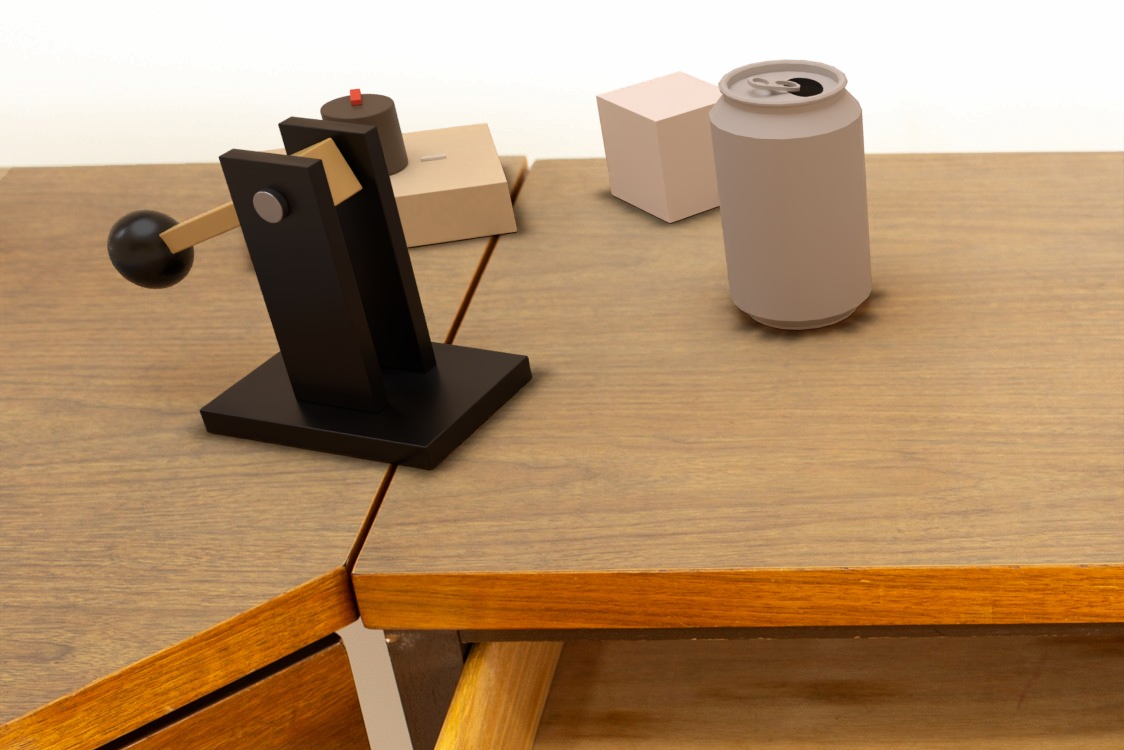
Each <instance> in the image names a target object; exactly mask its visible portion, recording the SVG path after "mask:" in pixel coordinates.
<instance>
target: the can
mask: <svg viewBox="0 0 1124 750" xmlns="http://www.w3.org/2000/svg"><path fill="white" fill-rule="evenodd" d="M848 83H849V82H848V77H847V76H846V73H845V72H843V71H842V70H840V69H838V68H837V67H835V66H834V65H830V64H827V63H824V62H822V61H821V62H820V61H813V60H808V59H807V60H806V59H773V60H763V61H758V62H752V63H748V64H745V65H741V66H739V67H735V68H734V69H732V70H730V71H729V72H726V73H725V74H724V75H723V76H722V77H721V78H720V80H719V81H718V85H717V86H718V87H719V90H720V92H721V93H722V95H721V97H720V98H719V99H718V101H717V102H716V103H715V105H714V106H713V108H712V109H711V111H710V112H709V120H710V128H711V137H712V145H713V154H714V162H715V171H716V179H717V188H718V196H719V205H720V206H719V211H720V221H721V228H722V237H723V246H724V254H725V263H726V271H727V280H728V289H729V295H730V300H731V302H732V303H733V304H734V305H736V307H737V308H738V309H739V310H741V311H742V312H744V313H746V314H748V315H749V316H750V317H751V318H752V319H753V320H754V321H755V322H758V323H759V324H763V325H764V326H767V327H771V328H776V329H781V330H794V331H795V330H797V331H798V330H799V331H803V330H811V329H819V328H824V327H828V326H831V325H835V324H836V323H839V322H841V321H843V320H845V319H848V318H849V317H850V316H851V315H852V314H853V313H855V312H856V310H857V308H858V307H859V306H860V305H862V303H863V302H865V301H866V300H867V299H868V298H869V296H870V294H871V292H872V288H873V279H872V278H873V277H872V262H871V245H870V228H869V227H870V226H869V210H868V209H869V207H868V190H867V174H866V157H865V154H866V153H865V138H864V121H863V120H864V118H863V108H862V106H861V104H860V101H859V100H858V99H857V98H856V97H855V96H853V95H852V93H851V92H850V91H849V90H848V89H847V88H846V86H848V85H847V84H848Z"/></svg>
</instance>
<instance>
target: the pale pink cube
mask: <svg viewBox="0 0 1124 750" xmlns="http://www.w3.org/2000/svg"><path fill="white" fill-rule="evenodd" d="M721 95H722V93H721V92H720V90H719V86H718V85H716V84H713V83H711V82H709V81H708V82H707V81H705V80H704V79H700V78H698V77H696V76H693V75H690V74H688V73H686V72H683V71H681V70H679V71H676V72H672V73H669V74H666V75H665V74H664V75H662V76H658V77H655V78H652V79H648V80H645V81H641V82H638V83H635V84H631V85H628V86H623V87H620V88H617V89H614V90H610V91H607V92H602V93H600V94H596V95H595V99H596V107H597V111H598V118H599V124H600V131H601V137H602V144H603V148H604V155H605V161H606V167H607V173H608V174H607V175H608V179H609V185H610V191H611V195H612V196H614V197H616V198H618V199H619V200H622V201H624V202H626V203H628V204H630V205H632V206H634V207H636V208H638V209H640V210H642V211H644V212H646V213H648V214H650V215H653V216H654V217H656V218H659V219H661V220H662V221H664V222H666V223H669V224H671V223H676V222H678V221H681V220H683V219H686V218H688V217H691V216H695V215H697V214H701V213H704V212H707V211H708V210H712V209H714V208H718V207H720V205H719V196H718V188H717V179H716V171H715V162H714V154H713V145H712V137H711V128H710V120H709V112H710V111H711V109H712V108H713V106H714V105H715V103H716V102H717V101H718V99H719V98H720V97H721Z"/></svg>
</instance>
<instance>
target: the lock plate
mask: <svg viewBox="0 0 1124 750" xmlns="http://www.w3.org/2000/svg"><path fill="white" fill-rule="evenodd" d="M402 136H403V141H404V145H405V149H406V153H407V157H408V164H407V166H406V167H405V168H403V169H402V170H400V171H398V172H396V173H393V174H390V175H389V176H390V180H391V184H392V188H393V192H394V196H395V200H396V204H397V208H398V212H399V216H400V220H401V224H402V228H403V232H404V235H405V239H406V243H407V247H408V248H412V247H419V246H426V245H433V244H440V243H448V242H454V241H461V240H467V239H469V240H470V239H474V238H482V237H488V236H496V235H502V234H503V235H504V234H508V233H509V234H510V233H515V232H518V227H517V224H516V218H515V214H514V209H513V204H512V203H513V202H512V199H511V194H510V190H509V189H510V188H509V184H508V181H507V177H506V174H505V172H504V169H503V166H502V162H501V160H500V155H499V154H498V151H497V148H496V145H495V142H494V138H493V136H492V133H491V130H490V126H489V124H488V122H482V123H474V124H466V125H459V126H450V127H442V128H434V129H426V130H417V131H410V132H402ZM257 151H258V152H266V153H275V154H283V155H287V154H286V150H285V147H282V148H274V149H265V150H257Z"/></svg>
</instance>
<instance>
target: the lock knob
mask: <svg viewBox="0 0 1124 750" xmlns="http://www.w3.org/2000/svg"><path fill="white" fill-rule="evenodd" d="M319 109H320V110H319V113H320V116H321V117H320V118H321V120H327V121H336V122H345V123H353V124H362V125H371V126H377V128H378V132H379V136H380V140H381V144H382V148H383V152H384V156H385V160H386V164H387V168H388V172H389V175H390V174H393V173H396V172H398V171H400V170H402V169H403V168H405V167H406V166H407V164H408V157H407V153H406V149H405V145H404V141H403V136H402V133H403V131H402V128H401V124H400V121H399V116H398V112H397V108H396V103H395V101H394V100H393V98H391V97H390V96H387V95H384V94H377V93H362V92H361V88H352V89H351V88H350V89H349V95H345V96H341V97H337V98H333V99H331V100H329V101H327V102H326V103H324V104H323V105H321V106H320V108H319Z"/></svg>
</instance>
